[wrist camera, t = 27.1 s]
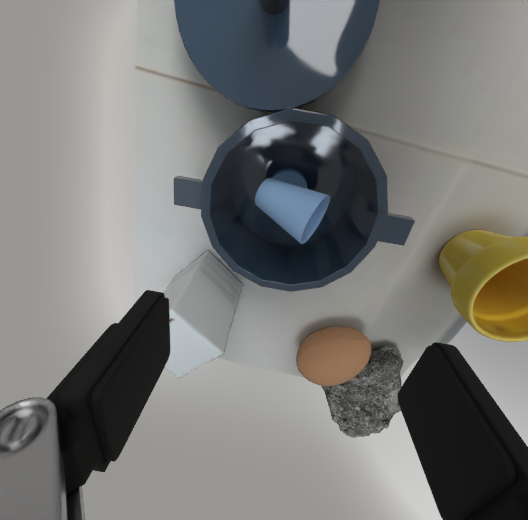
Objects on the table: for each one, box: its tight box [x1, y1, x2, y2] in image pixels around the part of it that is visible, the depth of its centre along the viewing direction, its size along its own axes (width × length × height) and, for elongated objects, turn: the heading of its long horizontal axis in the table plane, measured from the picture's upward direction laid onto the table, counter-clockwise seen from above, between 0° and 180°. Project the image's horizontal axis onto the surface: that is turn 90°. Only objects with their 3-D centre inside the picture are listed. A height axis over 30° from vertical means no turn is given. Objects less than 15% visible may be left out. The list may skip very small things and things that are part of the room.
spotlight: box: [255, 168, 330, 244], centre depth 26 cm, size 5×10×7 cm
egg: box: [296, 327, 371, 386], centre depth 38 cm, size 8×8×11 cm
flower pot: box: [439, 230, 528, 342], centre depth 28 cm, size 10×10×10 cm
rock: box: [321, 346, 403, 438], centre depth 42 cm, size 13×13×10 cm
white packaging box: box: [164, 251, 242, 378], centre depth 33 cm, size 7×7×13 cm
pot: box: [174, 108, 415, 291], centre depth 27 cm, size 16×21×10 cm
